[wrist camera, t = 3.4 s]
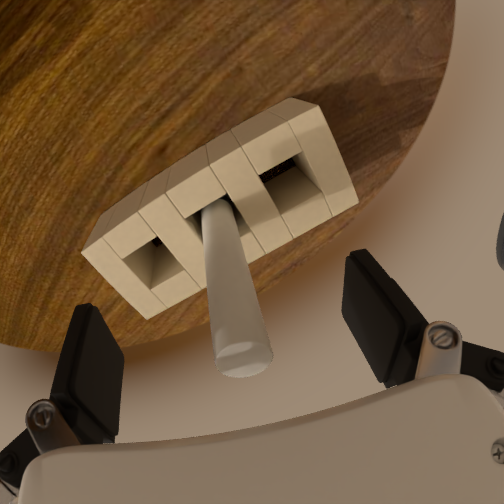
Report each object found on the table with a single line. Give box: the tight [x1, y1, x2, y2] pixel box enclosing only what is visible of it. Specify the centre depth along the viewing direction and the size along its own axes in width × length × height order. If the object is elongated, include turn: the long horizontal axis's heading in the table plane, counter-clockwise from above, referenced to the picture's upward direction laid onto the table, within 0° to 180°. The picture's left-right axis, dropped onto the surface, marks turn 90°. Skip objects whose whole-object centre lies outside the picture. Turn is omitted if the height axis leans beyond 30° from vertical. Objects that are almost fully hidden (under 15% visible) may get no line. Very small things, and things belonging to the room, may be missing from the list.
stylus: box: [201, 193, 273, 378], centre depth 15 cm, size 2×2×14 cm
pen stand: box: [81, 97, 359, 319], centre depth 19 cm, size 15×6×5 cm, turn 119°
